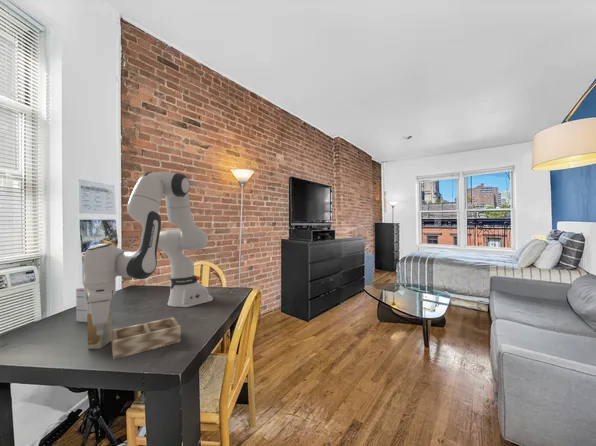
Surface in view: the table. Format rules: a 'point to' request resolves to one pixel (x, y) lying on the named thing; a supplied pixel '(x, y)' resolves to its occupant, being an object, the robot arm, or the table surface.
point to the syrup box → (82, 305)
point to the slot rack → (145, 337)
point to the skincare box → (99, 340)
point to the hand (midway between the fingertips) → (100, 330)
